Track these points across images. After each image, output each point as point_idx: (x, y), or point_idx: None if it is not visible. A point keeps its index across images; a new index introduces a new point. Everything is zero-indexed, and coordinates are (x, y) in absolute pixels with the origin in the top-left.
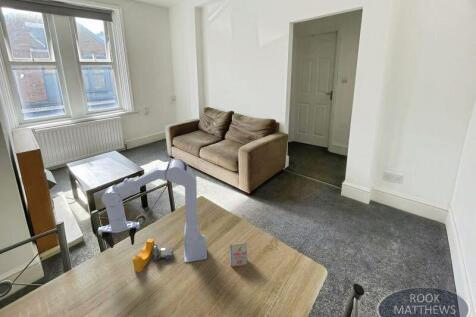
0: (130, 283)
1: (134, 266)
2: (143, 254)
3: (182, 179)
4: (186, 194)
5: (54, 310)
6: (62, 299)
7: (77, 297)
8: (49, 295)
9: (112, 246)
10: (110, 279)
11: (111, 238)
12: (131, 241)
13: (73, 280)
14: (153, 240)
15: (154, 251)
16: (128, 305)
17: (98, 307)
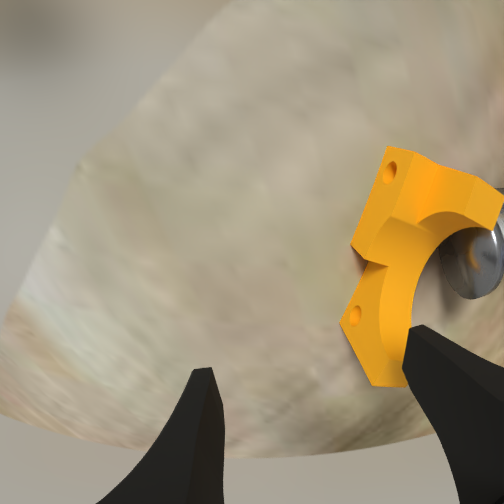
0: (328, 382)
1: (354, 344)
2: (399, 249)
3: None
4: None
5: (92, 438)
6: (82, 414)
7: (128, 418)
8: (27, 390)
9: (224, 424)
10: (223, 365)
11: (208, 469)
12: (426, 408)
13: (48, 347)
14: (500, 204)
15: (482, 295)
16: (333, 441)
17: (233, 449)
